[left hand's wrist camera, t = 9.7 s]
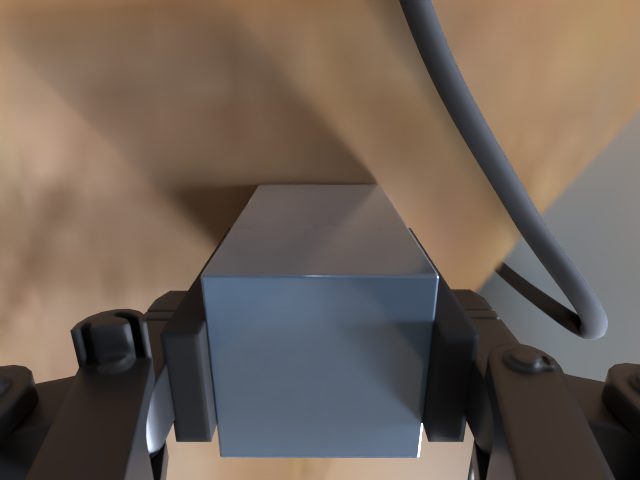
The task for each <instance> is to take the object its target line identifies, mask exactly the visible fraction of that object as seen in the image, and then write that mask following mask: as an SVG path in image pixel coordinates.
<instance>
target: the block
mask: <svg viewBox="0 0 640 480" xmlns="http://www.w3.org/2000/svg"><path fill="white" fill-rule="evenodd" d="M438 282H439V275H438V273H437V272H436V270H435V269H434V267H433V266H432V264H431V263H430V261H429V259H428V258H427V256H426V255H425V253H424V252H423V250H422V249H421V247H420V245H419V244H418V242H417V241H416V239H415V238H414V236H413V235H412V233H411V231H410V230H409V228H408V227H407V225H406V224H405V222H404V221H403V219H402V217H401V216H400V214H399V213H398V211H397V210H396V208H395V207H394V205H393V203H392V202H391V200H390V199H389V197H388V196H387V194H386V193H385V191H384V189H383V188H382V186H381V185H259V186H258V188H257V189H256V191H255V192H254V194H253V195H252V197H251V198H250V200H249V202H248V203H247V205H246V206H245V208H244V209H243V211H242V212H241V214H240V216H239V217H238V219H237V220H236V222H235V223H234V225H233V226H232V228H231V229H230V231H229V233H228V234H227V236H226V237H225V239H224V240H223V242H222V243H221V245H220V247H219V248H218V250H217V251H216V253H215V254H214V256H213V257H212V259H211V261H210V262H209V264H208V265H207V267H206V268H205V270H204V271H203V273H202V274H201V285H202V294H203V303H204V312H205V320H206V329H207V338H208V347H209V357H210V366H211V375H212V384H213V393H214V402H215V411H216V420H217V431H218V440H219V449H220V456H221V457H222V458H417V457H419V455H420V446H421V437H422V428H423V418H424V408H425V399H426V390H427V381H428V372H429V363H430V354H431V344H432V335H433V326H434V318H435V309H436V300H437V291H438Z"/></svg>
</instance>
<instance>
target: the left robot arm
mask: <svg viewBox="0 0 640 480" xmlns="http://www.w3.org/2000/svg"><path fill="white" fill-rule="evenodd" d="M399 1H400V4H401V6H402V9H403V12H404V15H405V17H406V20H407V22H408V25H409V27H410V30H411V33H412V35H413V38H414V40H415V42H416V45H417V47H418V50H419V52H420V54H421V57H422V59H423V61H424V63H425V66H426V68H427V70H428V72H429V74H430V76H431V79H432V81H433V83H434V85H435V87H436V89H437V91H438V93H439V95H440V97H441V99H442V101H443V102H444V104H445V106H446V108H447V110H448V112H449V114H450V116H451V117H452V119H453V121H454V123H455V125H456V126H457V128H458V130H459V131H460V133H461V135H462V137H463V138H464V140H465V142H466V143H467V145H468V147H469V148H470V150H471V152H472V153H473V155H474V157H475V158H476V160H477V162H478V163H479V165H480V167H481V168H482V170H483V172H484V173H485V175H486V176H487V178H488V180H489V181H490V183H491V185H492V186H493V188H494V190H495V191H496V193H497V195H498V196H499V198H500V200H501V201H502V203H503V205H504V206H505V208H506V210H507V211H508V213H509V215H510V216H511V218H512V220H513V221H514V223H515V225H516V226H517V228H518V230H519V231H520V233H521V234H522V236H523V237H524V239H525V240H526V242H527V243H528V244H529V246H530V247H531V249H532V250H533V252H534V253H535V254H536V256H537V257H538V259H539V260H540V261H541V263H542V264H543V265H544V267H545V268H546V269H547V271H548V272H549V273H550V275H551V276H552V277H553V279H554V280H555V282H556V283H557V284H558V286H559V287H560V288H561V290H562V291H563V292H564V294H565V295H566V297H567V298H568V300H569V301H570V302H571V304H572V305H573V307H574V308H575V310H576V312H577V313H578V314H576V313H575V312H573V311H571V310H570V309H568V308H567V307H565V306H563V305H562V304H560V303H559V302H557V301H556V300H554V299H553V298H551V297H550V296H548V295H547V294H546V293H544V292H542V291H541V290H540V289H538V288H537V287H535V286H534V285H532V284H531V283H529V282H528V281H527V280H525V279H524V278H523V277H521V276H520V275H519V274H517V273H516V272H515V271H514V270H512V269H511V268H510V267H509V266H508V265H506V264H505V263H504V262H503V261H502V262H501V263H500V264H499V265H498V266H497V267H496V268H495V269H494V271H495V272H496V273H497V274H498V275H499V276H500V277H501V278H503V279H504V280H505V281H506V282H507V283H508V284H509V285H510V286H512V287H513V288H514V289H515V290H516V291H518V292H519V293H520V294H521V295H522V296H524V297H525V298H526V299H527V300H529V301H530V302H531V303H532V304H534V305H535V306H536V307H537V308H539V309H540V310H541V311H543V312H544V313H545V314H547V315H548V316H549V317H550V318H552V319H553V320H554V321H556V322H557V323H559V324H560V325H561V326H563V327H564V328H566V329H567V330H568V331H570V332H572V333H573V334H575V335H577V336H579V337H581V338H584V339H592V340H595V339H598V338H600V337H602V336H604V334H605V332H606V329H607V327H608V321H607V317H606V314H605V312H604V310H603V308H602V306H601V304H600V302H599V300H598V298H597V297H596V295H595V293H594V292H593V290H592V289H591V287H590V286H589V284H588V283H587V281H586V280H585V279H584V277H583V276H582V274H581V273H580V272H579V270H578V269H577V267H576V266H575V265H574V263H573V262H572V261H571V259H570V258H569V257H568V255H567V254H566V253H565V251H564V250H563V248H562V247H561V246H560V244H559V243H558V241H557V240H556V239H555V237H554V236H553V234H552V233H551V231H550V230H549V229H548V227H547V226H546V224H545V222H544V221H543V219H542V218H541V216H540V215H539V213H538V211H537V209H536V208H535V206H534V204H533V203H532V201H531V199H530V197H529V196H528V194H527V192H526V190H525V189H524V187H523V185H522V183H521V182H520V180H519V178H518V176H517V175H516V173H515V171H514V169H513V168H512V166H511V164H510V163H509V161H508V159H507V157H506V156H505V154H504V152H503V151H502V149H501V147H500V145H499V144H498V142H497V140H496V139H495V137H494V135H493V133H492V132H491V130H490V128H489V126H488V125H487V123H486V121H485V119H484V117H483V116H482V114H481V112H480V110H479V108H478V106H477V104H476V103H475V101H474V99H473V97H472V95H471V93H470V91H469V89H468V87H467V85H466V83H465V81H464V79H463V77H462V75H461V73H460V70H459V68H458V66H457V64H456V62H455V59H454V57H453V55H452V53H451V50H450V48H449V46H448V43H447V41H446V38H445V36H444V33H443V31H442V28H441V26H440V23H439V21H438V18H437V15H436V12H435V10H434V7H433V4H432V1H431V0H399ZM230 229H231V228H229V229H228V231H227V232H226V234H225V235H224V237H223V239H222V240H221V242H220V243H219V245H218V246H217V248H216V249H215V251H214V252H213V254H212V255H211V257H210V258H209V260H208V261H207V263H206V264H205V266H204V267H203V269H202V270H201V272H200V273H199V275H198V277H197V278H196V280H195V281H194V283H193V284H192V286H191V287H190V289H189V290H188V291H169V292H167V293H166V294H164V295H163V296H161V297H159V298H158V299H156V300H155V301H154V303H153V304H152V305H151V306H150V308H149V309H148V312H146V313H145V314H142V313H141V312H140V311H136V310H132V309H115V310H110V311H105V312H101V313H98V314H95V315H92V316H90V317H88V318H86V319H84V320H82V321H81V322H79V323H77V324H76V325H75V326H74V328H73V329H72V330H71V335H72V339H73V343H74V348H75V352H76V356H77V360H78V364H79V369H78V371H77V373H76V375H75V376H72V377H68V378H63V379H58V380H53V381H48V382H43V383H38V384H35V382H34V378H33V375H32V371H30V370H29V369H28V368H26V367H24V366H17V365H10V366H0V480H166V474H167V466H168V458H169V457H168V450H167V444H166V438H167V435H168V433H169V431H170V429H171V426H172V424H173V423H174V429H175V436H176V442H211V441H212V438H213V434H214V431H215V428H216V425H217V420H216V411H215V402H214V393H213V384H212V375H211V366H210V357H209V347H208V338H207V329H206V320H205V312H204V303H203V294H202V285H201V274H202V273H203V271H204V270H205V268H206V267H207V265H208V264H209V262H210V261H211V259H212V257H213V256H214V254H215V253H216V251H217V250H218V248H219V247H220V245H221V243H222V242H223V240H224V239H225V237H226V236H227V234H228V233H229V231H230ZM409 230H410V231H411V233H412V235H413V236H414V238H415V239H416V241H417V242H418V244H419V245H420V247H421V249H422V250H423V252H424V253H425V255H426V256H427V258H428V259H429V261H430V263H431V264H432V266H433V267H434V269H435V270H436V272H437V273H438V275H439V282H438V291H437V300H436V309H435V318H434V326H433V335H432V344H431V354H430V363H429V372H428V381H427V390H426V399H425V408H424V418H423V425H424V429H425V432H426V435H427V438H428V441H429V442H463V440H464V434H465V427H466V421H467V423H468V425H469V427H470V429H471V432H472V434H473V436H474V444H473V450H472V456H471V462H470V468H469V474H468V480H640V364H630V363H623V364H616V365H614V366H613V367H611V368H610V369H609V370H608V374H607V377H606V381H605V382H601V381H596V380H591V379H586V378H581V377H576V376H571V375H568V374H564V373H563V371H562V369H561V367H560V365H559V364H558V363H557V362H556V361H555V359H554V358H552V357H551V356H549V355H548V354H546V353H545V352H543V351H541V350H538V349H536V348H534V347H531V346H527V345H523V344H520V343H519V342H518V340H517V339H516V338H515V337H514V335H513V334H512V333H511V332H510V330H509V329H508V328H507V327H506V325H505V324H504V323H503V321H502V320H501V319H499V317H498V315H497V314H496V313H495V311H492V308H491V306H490V305H489V304H488V303H487V301H486V300H485V299H484V298H483V297H481V296H480V295H478V294H476V293H475V292H473V291H471V290H451V289H450V288H449V286H448V285H447V283H446V282H445V280H444V278H443V277H442V275H441V274H440V272H439V271H438V269H437V268H436V266H435V265H434V263H433V262H432V260H431V259H430V257H429V256H428V254H427V253H426V251H425V250H424V248H423V247H422V245H421V243H420V242H419V240H418V239H417V237H416V236H415V234H414V233H413V231H412V230H411V228H409Z"/></svg>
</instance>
